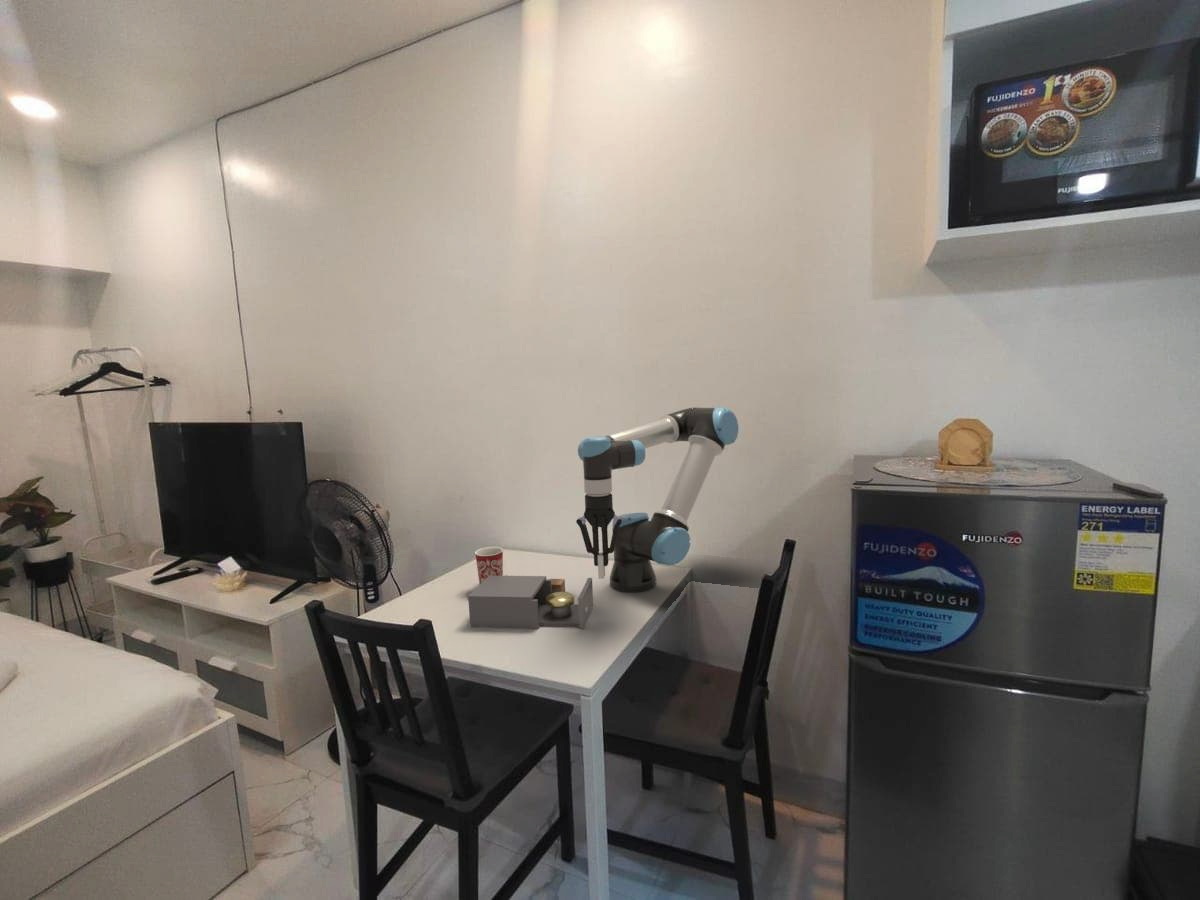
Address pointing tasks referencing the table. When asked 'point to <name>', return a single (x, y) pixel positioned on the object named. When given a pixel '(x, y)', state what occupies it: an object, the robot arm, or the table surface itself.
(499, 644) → the table surface
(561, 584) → the brown wooden cube
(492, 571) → the mug
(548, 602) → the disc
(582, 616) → the tray
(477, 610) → the housing
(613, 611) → the table surface
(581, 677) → the table surface
